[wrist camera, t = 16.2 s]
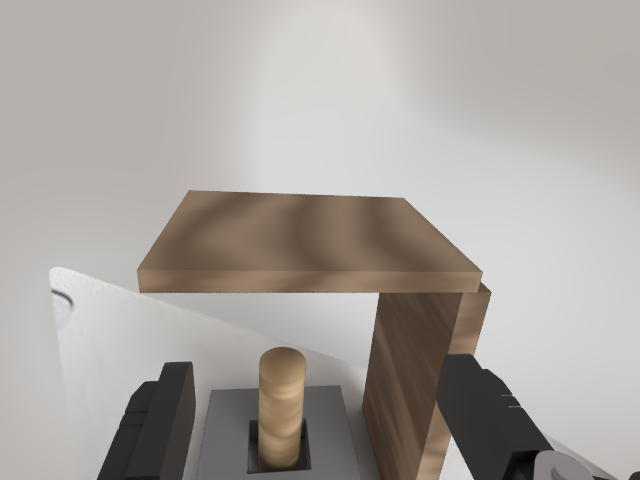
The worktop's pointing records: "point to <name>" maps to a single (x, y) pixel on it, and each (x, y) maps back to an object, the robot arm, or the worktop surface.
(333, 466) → the socket plate
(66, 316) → the worktop surface
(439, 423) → the wooden l bracket
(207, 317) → the worktop surface
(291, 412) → the wooden peg
